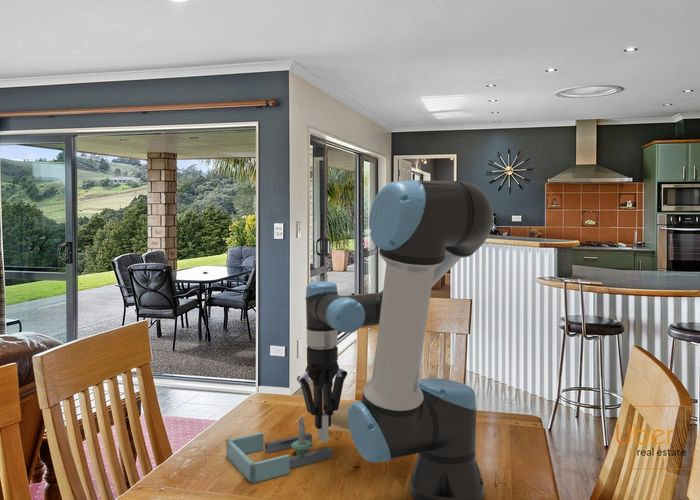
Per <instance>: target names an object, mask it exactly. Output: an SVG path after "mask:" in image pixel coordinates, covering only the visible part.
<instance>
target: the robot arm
mask: <svg viewBox="0 0 700 500" xmlns="http://www.w3.org/2000/svg"><path fill="white" fill-rule="evenodd" d="M368 222H369V223H368V227H369V229H370V230H371V231H370V232H369V235H370V237H371V240H372V242H373V244H374V245H375V246H376V247H377V248H378V250H379V253H378V254H379V256H380V257H381V258H382V259H383V261H384V262H385V271H384V280H383V288H382V290H381V291H380V292H371V293H362V294H348V295H340V294H339V292H338V285H337V284H336V283H335V282H333V281H325V280H324V281H313V282H309V283H308V284H307V285H306V288H305V289H306V290H305V298H304V299H305V308H306V309H305V312H306V313H305V315H306V317H305V318H306V345H307V347H306V363H307V365H306V368H305V372H304V373H303V374H302V375H301V376H300V375H299V376H297V377H296V380H297V382H298V383H299V384H300V388H301V391H302V394H303V395H302V396H303V399H304V403H305V407H306V411H307V412H308V413H309V414H310V415H312V416H314V427H315V428H316V429H317V439H318V441H320V442H322V443H327V442H329V429H328V427H330V426H331V415H333V411H337V410H338V408H339V407H340V402H341V397H342V392H343V388H344V387H343V386H344V382H345V380H346V377H347V376H348V372H347V371H346V370H344V369H343V368H340V365H339V363H338V360H339V353H338V352H339V347H338V346H337V345H338V344H339V343H338V342H339V340H338V339H339V338H338V336H339V334H338V332H340V333H346V334H351V333H355V332H356V331H358V330H359V329H361V328H366V327H367V328H368V327H373V326H378V329H377V337H376V345H375V346H376V347H375V353H374V362H373V363H374V364H373V371H372V379H370V380H369V381H367V382H365V384H364V386H363V389H362V395H361V400H354V401H353V402H354V403H353V402H352V403H350V404H351V405H350V407H349V410H348V423H349V429H350V432H349V433H350V436H351V438H352V441H353V443H354V446H355V448H356V450H357V451H358V454H359V455H360V456H361V457H362V458H363V459H364V460H365V461H368V462H369V463H374V464H376V463H381V462H390V461H391V460H394V459H398V458H403V457H407V456H412V455H415V454H417V458H416V461H415V464H414V469H413V471H412V474H411V475H410V479H409V493H410V496H411V497H412V498H413V499H414V500H484V497H485V484H484V480H483V478H482V475H481V470H480V468H479V465H478V461H477V459H476V448H477V445H476V442H477V441H476V437H477V436H476V435H477V434H476V429H477V427H476V426H477V410H478V408H477V401H476V393H475V391H474V389H473V388H472V387H470V386H469V385H467V384H465V383H463V382H459V381H456V380H452V379H446V378H439V377H438V378H436V377H433V378H432V377H428V378H423V379H421V380H419V376H420V372H421V371H420V370H421V364H422V363H421V362H422V358H423V357H422V356H423V350H424V349H423V348H424V342H425V335H426V330H427V329H426V328H427V323H428V314H429V308H430V302H431V294H432V288H433V287H434V286H435V284H437V282H438V281H440V280H441V278H443V277H444V276H445V275H446V274H447V273H448V272H449V271H450V270H451V269H452V268H453V267H454V265H456V264H457V263H458V262H459V261H460V260H461V259H462V258H468V257H471V256H472V255H474V254H475V253H476V252H477V251H478V250H479V249H480V248H481V247H482V246H483V245H484V243H485V242H486V240H487V239H488V237H489V236H490V233H491V231H492V229H493V223H494V210H493V206H492V203H491V201H490V200H489V198H488V197H487V195H486V193H485V192H483V190H482V189H481V188H479V187H477V186H476V185H474V184H472V183H470V182H467V181H462V180H451V181H450V180H448V181H447V180H417V179H407V180H401V181H399V180H398V181H397V180H396V181H392V182H389V183H387V184H386V185H384V186H383V187H382V189H380V190H379V191H378V192H377V194H376V195H375V197H374V199H373V201H372V204H371V206H370V211H369V219H368ZM333 379H334V380H333ZM310 380H311V382H312V387H313V394H312V390H311V386H310V384H309V383H310ZM333 381H334V382H333Z"/></svg>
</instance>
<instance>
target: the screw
mask: <svg viewBox="0 0 700 500" xmlns="http://www.w3.org/2000/svg"><path fill="white" fill-rule="evenodd" d="M297 430H298V431H297V433H298V434H297V436H298V435H299V436H298V437H299V439H298V440H297V441H295V442H293V443H292V445H291V448H292V449H293V450H294V451H295V454H296V456H297V455H301V454H305V453H309V450H310V449H311V448H312V447H313V442H312V443H311V442H310V441H308V440H305V434H306V427H305V417H303V416H300V417H299V418H298V429H297Z"/></svg>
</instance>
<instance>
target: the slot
mask: <svg viewBox="0 0 700 500" xmlns="http://www.w3.org/2000/svg"><path fill="white" fill-rule="evenodd" d="M298 436H299V435H298V434H297V435H294V436H290V437H285V438H281V439H276V440H272V441H269V442H265V443H264V451H265V453H267V454H270V453H274V452H279V451H282V450H287V449H290V448H292V447H291V445H292V443H293V442H295V441H297V440H298V439H299V437H298ZM305 440H308V441H310V442H311V443H312V444H313V434H312V433H310V432H305ZM330 459H333V449H332V448H330V447H325V448H321V449H317V450H313V451H308V453H305V454H301V455H297V454H296V455H294V456H289V469H294V468H298V467H304V466H306V465H311V464H314V463H318V462H322V461H326V460H330Z"/></svg>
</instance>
